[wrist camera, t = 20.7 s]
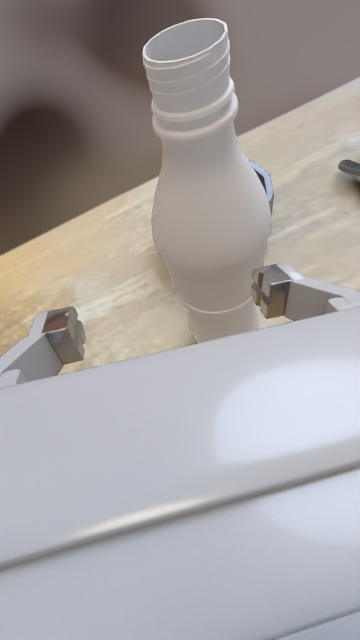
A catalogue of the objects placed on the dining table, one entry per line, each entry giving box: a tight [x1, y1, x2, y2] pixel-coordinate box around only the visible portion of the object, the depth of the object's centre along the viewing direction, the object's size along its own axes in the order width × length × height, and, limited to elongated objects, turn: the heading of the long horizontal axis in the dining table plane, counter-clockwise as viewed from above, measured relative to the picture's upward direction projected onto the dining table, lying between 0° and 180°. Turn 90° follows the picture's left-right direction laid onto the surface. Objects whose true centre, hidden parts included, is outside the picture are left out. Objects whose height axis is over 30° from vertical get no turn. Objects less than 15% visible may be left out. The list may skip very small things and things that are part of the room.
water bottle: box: [143, 18, 271, 343], centre depth 20 cm, size 7×7×25 cm
